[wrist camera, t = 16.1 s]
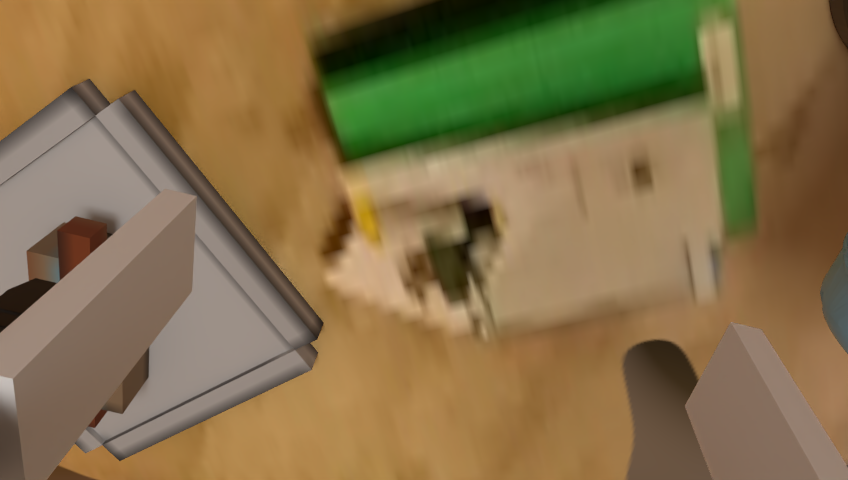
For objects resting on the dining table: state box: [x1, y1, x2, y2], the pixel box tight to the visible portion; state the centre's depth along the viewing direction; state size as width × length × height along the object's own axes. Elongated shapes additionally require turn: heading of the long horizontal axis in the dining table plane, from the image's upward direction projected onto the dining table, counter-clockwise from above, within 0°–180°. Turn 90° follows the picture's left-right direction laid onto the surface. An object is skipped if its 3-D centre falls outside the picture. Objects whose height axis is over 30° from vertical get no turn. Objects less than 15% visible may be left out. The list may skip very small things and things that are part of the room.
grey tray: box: [0, 79, 323, 461], centre depth 56 cm, size 30×30×8 cm
